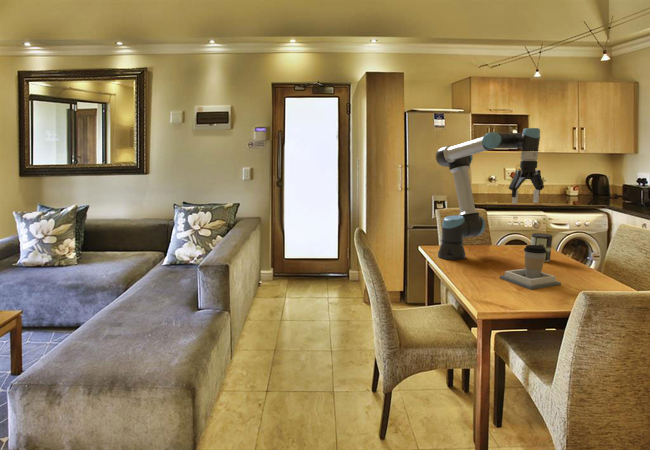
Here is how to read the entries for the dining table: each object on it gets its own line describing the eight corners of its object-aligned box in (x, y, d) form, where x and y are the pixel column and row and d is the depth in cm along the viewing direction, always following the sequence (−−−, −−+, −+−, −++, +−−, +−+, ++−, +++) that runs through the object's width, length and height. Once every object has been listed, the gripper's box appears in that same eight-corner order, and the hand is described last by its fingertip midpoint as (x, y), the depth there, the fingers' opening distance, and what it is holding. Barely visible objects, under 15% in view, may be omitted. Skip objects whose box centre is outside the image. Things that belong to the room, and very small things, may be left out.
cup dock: (499, 278, 194) (500, 270, 194) (528, 274, 200) (528, 266, 200) (530, 289, 178) (531, 281, 177) (560, 284, 184) (561, 277, 183)
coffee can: (544, 257, 233) (546, 233, 231) (553, 261, 223) (556, 236, 221) (526, 257, 233) (528, 233, 231) (534, 261, 223) (537, 236, 221)
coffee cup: (524, 274, 197) (527, 243, 194) (546, 277, 191) (549, 246, 188) (519, 278, 189) (521, 247, 187) (541, 282, 184) (544, 250, 181)
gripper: (515, 160, 193) (511, 205, 197) (554, 160, 201) (550, 203, 205) (503, 160, 200) (499, 203, 204) (542, 159, 208) (538, 201, 212)
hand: (525, 203), depth 204 cm, fingers open, 13 cm apart
